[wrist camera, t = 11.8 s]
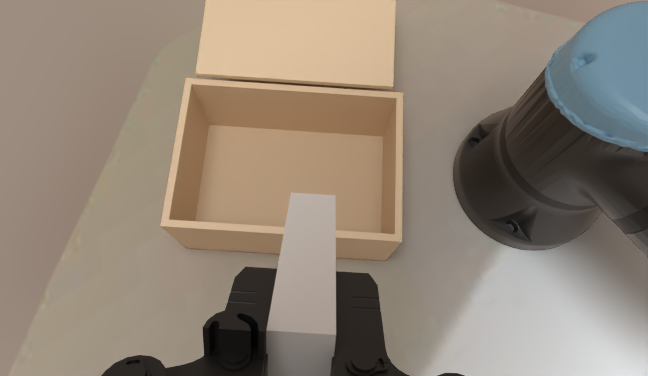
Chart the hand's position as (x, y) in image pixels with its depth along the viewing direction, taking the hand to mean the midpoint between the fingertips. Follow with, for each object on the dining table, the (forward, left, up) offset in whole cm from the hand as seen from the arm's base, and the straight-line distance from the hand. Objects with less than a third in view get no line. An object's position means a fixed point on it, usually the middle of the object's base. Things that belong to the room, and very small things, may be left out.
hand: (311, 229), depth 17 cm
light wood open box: (-2, -12, -32) cm, 34 cm away
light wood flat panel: (-4, -19, -23) cm, 30 cm away
